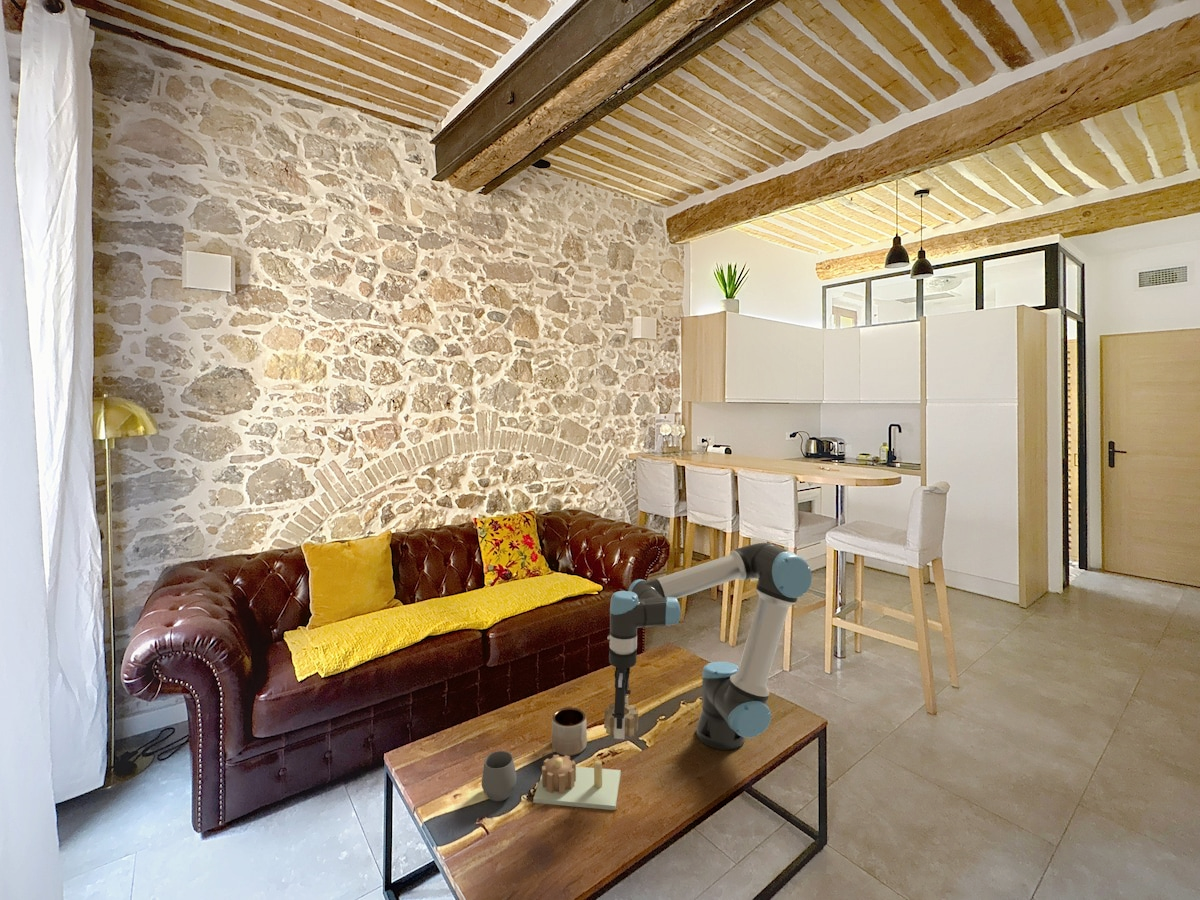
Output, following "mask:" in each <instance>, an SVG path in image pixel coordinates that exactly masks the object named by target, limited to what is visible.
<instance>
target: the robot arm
mask: <svg viewBox="0 0 1200 900" xmlns="http://www.w3.org/2000/svg"><path fill="white" fill-rule="evenodd" d="M812 577H813V576H812V570H811V567H810V566H809V564H808V563H807V561H806V560H805V559H804V558H803V557H801V556H799V554H797V553H796V552H792V551H790V550H788V549H786V548H783V547H781V546H779V545H777V544H774V543H770V542H759V543H753V544H749V545H748V544H747V545H746V546H741V547H739V548H736V549H733V550H730V552H729V554H728V555H725V556H721V557H718V558H716V559H713V560H709V561H706V562H704V563H701V564H697V565H695V566H691V567H688V568H686V569H685V568H684V569H682V570H678V571H676V572H673V573H670V574H667V575H664V576H661V577H658V578H655V579H651V580H649V581H647V580H645V579H641V578H639V579H635V580H633V581H632V583H631V584H630V585H629V587H628V590H619V591H616V592H614V593H613V594H612V595H611V598H610V602H609V603H610V604H609V605H610V606H609V635H607V640H609V651H608V662H609V664H610V665H611V666H612V667H615V670H614V678H615V679H614V690H615V692H614V703H615V710H614V714H613V713H612V716H614V718H615V724H614V735H613V739H618V740H625V737H626V736H625V714H624V710H625V702H626V704H628V705H629V695H631V689H629V688H630V684H629V681H630V675H631V668H632V667H634V666H635V665H636V664H637V649H638V628H650V627H651V628H652V627H669V626H674V625H677V624H678V623H680V620H681V614H682V613H681V611H682V610H681V605H680V601H679V600H678V599H680V598H683V597H686V596H690V595H693V594H695V593H698V592H702V591H704V590H707V589H711V588H714V587H717V586H719V585H723V584H725V583H728V582H732V581H734V580H737V579H738V580H740V581H745V580H748V579H757V580H758V581H757V584H756V587H755V591H756V592H757V594H758V600H757V603H756V607H755V610H754V614H753V618H752V621H751V624H750V626H749V631H748V634H747V637H746V641H745V644H744V648H743V652H742V655H741V658H740V661H739V665H737V664H735V663H732V662H729V661H713V662H708V663H706V664H705V665H704V667H703V668H702V675H701V679H702V685H701V686H702V709H701V712H700V715H699V718H698V720H697V723H696V736H697V738H698V740H699V741H700V742H701V743H702V744H704V745H706V746H708V747H711V748H713V749H716V750H722V751H724V750H725V751H728V750H729V751H730V750H734V749H738V748H740V747H741V746H742V745H744V743H745V741H746V739H750V738H751V739H752V738H755V737H758V736H759V735H760V734H763V733H764V732H765V731H767V729H768V727H769V725H771V720H772V713H771V710H770V708H769V706H768V705H767V703H768V700H769V696H770V690H769V688H768V686H767V683H768V680H769V676H770V674H771V673H770V672H771V669H772V667H773V663H774V660H775V656H776V652H777V649H778V646H779V643H780V639H781V635H782V633H783V632H782V631H783V629H784V625H785V622H786V618H787V616H788V611H789V609H790V607H791V606H792V605H795V604H797V601H798V598H801V597H802V596H804V594H806V593H807V592H808V591H809V589H810V587H811V585H812V579H813V578H812Z"/></svg>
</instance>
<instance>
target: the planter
mask: <svg viewBox="0 0 1200 900" xmlns="http://www.w3.org/2000/svg"><path fill="white" fill-rule="evenodd" d="M587 727H588V726H587V714H586V712H585V711H584V710H583V709H580V708H577V707H574V706H570V707H569V706H568V707H562V708H559V709H557V710H556V711H554V712H553V714H552V716H551V747H552V749H553V750H554V752H555V753H556V754H559V755H562V756H565V755H567V756H570V757H571V756H575V755H578V754H581V753H582V752H583V751H584V750H585V749H586V747H587V744H588V738H587V737H588V733H587V731H588V730H587V729H588V728H587Z"/></svg>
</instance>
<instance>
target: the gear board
mask: <svg viewBox="0 0 1200 900" xmlns="http://www.w3.org/2000/svg"><path fill="white" fill-rule="evenodd" d="M576 765H577V764H576V762H575V760H571V756H567V755H563V756H560V754H559V753H557V754H553V755H552V758H546V759H545V760H543V765H542V766H541V775H540V779H539V781H538V784H537V787H536V790H535V793H534V795H533V798H532V799H533V800H532V801H533V803H534V804H544V805H554V806H563V807H564V806H565V807H576V808H587V809H596V810H597V809H598V810H609V811H616V809H617V803H618V795H619V789H620V788H619V787H620V781H621V774H622V773H621V772H622V771H621V769H612V768H603V762H602V761H601V760H596V761H594V762H593V767H585V766H576Z"/></svg>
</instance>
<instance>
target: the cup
mask: <svg viewBox="0 0 1200 900" xmlns="http://www.w3.org/2000/svg"><path fill="white" fill-rule="evenodd" d="M516 784H517V772H516V766H515V761H514V757H513V755H512V754H511V753H510V752H508V751H505V750H497V751H494V752H491V753H489V754H488V755H487V756H486V757H485V758H484V764H483V770H482V776H481V788H482V790H483V792H484V794H485V795H486V796H487V798H488V799H489V800H490V801H493V802H502V801H504V800H507V799H508V798H509V797H510V796H511V795H512V793H513V791H514V788H515V787H516Z"/></svg>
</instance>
